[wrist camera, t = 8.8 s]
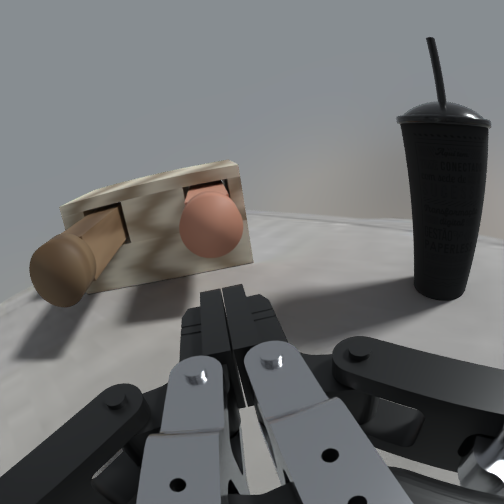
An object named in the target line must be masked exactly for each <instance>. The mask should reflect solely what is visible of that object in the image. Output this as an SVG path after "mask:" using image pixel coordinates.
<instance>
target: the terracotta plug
mask: <svg viewBox="0 0 504 504" xmlns="http://www.w3.org/2000/svg"><path fill="white" fill-rule="evenodd" d="M184 203H185V207H184V209H183V212H182V215H181V219H180V223H179V232H180V236H181V239H182V241H183V243H184V245H185V246H186V247H187V248H188V249H189V250H190V251H191V252H192V253H194V254H196V255H198V256H200V257H204V258H217V257H221V256H224V255H226V254H228V253H229V252H231V251H232V250H233V249H234V248H235V247H236V246H237V245H238V243H239V241H240V239H241V237H242V234H243V220H242V217H241V214H240V212H239V210H238V209H237V207H236V205H235V203H234V202H233V201H232V200H231V199H230V198H229V195H228V192H227V191H226V189H225V187H224V185H223V183H222V181H221V180H217V181H212V182H206V183H201V184H196V185H191V186H190V187H189V190H188V193H187V196H186V199H185V202H184Z"/></svg>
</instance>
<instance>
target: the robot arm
mask: <svg viewBox="0 0 504 504" xmlns="http://www.w3.org/2000/svg"><path fill="white" fill-rule="evenodd" d="M222 291H223V297H224V302H223V298H222V294H221V289H215V290H210V291H205V292H200V307H195V308H190V309H188V310H187V311H186V313H185V314H184V316H183V317H182V325H181V328H182V329H181V341H180V362H179V363H178V364H177V365H176V366H175V367H174V368H173V369H172V371H171V372H170V375H169V381H168V383H167V384H165V385H163V386H161V387H159V388H157V389H154V390H151V391H149V392H146V393H143V394H142V393H141V391H140V389H139V388H137V387H136V386H134V385H131V384H117V385H114V386H111V387H109V388H107V389H105V390H104V391H103V392H101V393H100V394H99V395H98V396H97V397H96V398H94V399H93V400H92V401H91V402H90V403H89V404H87V405H86V406H85V407H84V408H83V409H81V410H80V411H79V412H78V413H77V414H76V415H74V416H73V417H72V418H71V419H70V420H68V421H67V422H66V423H65V424H64V425H62V426H61V427H60V428H59V429H58V430H57V431H55V432H54V433H53V434H52V435H51V436H49V437H48V438H47V439H46V440H45V441H43V442H42V443H41V444H40V445H39V446H37V447H36V448H35V449H34V450H33V451H31V452H30V453H29V454H28V455H27V456H25V457H24V458H23V459H22V460H21V461H19V462H18V463H17V464H16V465H15V466H13V467H12V468H11V469H10V470H9V471H7V472H6V473H5V474H4V475H2V476H1V477H0V504H504V370H502V369H497V368H492V367H488V366H483V365H478V364H474V363H469V362H465V361H461V360H456V359H452V358H448V357H444V356H439V355H435V354H431V353H427V352H423V351H419V350H415V349H412V348H408V347H404V346H400V345H396V344H393V343H389V342H385V341H381V340H378V339H374V338H371V337H365V336H356V337H351V338H347V339H345V340H343V341H341V342H340V343H338V344H337V345H336V346H335V348H334V350H333V353H332V354H329V355H308V354H303V353H300V352H299V351H298V350H297V349H296V347H294V346H293V345H292V344H290V343H288V341H287V339H286V337H285V334H284V332H283V330H282V328H281V326H280V323H279V321H278V319H277V317H276V315H275V313H274V310H273V308H272V306H271V304H270V302H269V300H268V299H267V298H265V297H263V296H262V295H260V294H258V295H253V296H249V297H246V295H245V292H244V288H243V285H242V284H239V285H234V286H230V287H225V288H222ZM224 303H225V307H224ZM225 308H226V311H225ZM226 314H227V315H226ZM227 319H228V320H227ZM238 371H239V372H238ZM239 374H240V377H239ZM240 378H241V382H242V386H243V390H244V394H245V397H246V401H247V405H248V407H249V406H255V410H256V414H257V418H258V422H259V426H260V429H261V432H262V434H263V437H264V440H265V442H266V445H267V448H268V451H269V453H270V456H271V458H272V461H273V464H274V466H275V469H276V471H277V474H278V477H279V480H280V483H281V486H280V487H278V488H276V489H274V490H272V491H269V492H267V493H265V494H261V495H250V491H249V488H248V483H247V477H246V468H245V458H244V448H243V438H242V429H241V426H240V423H241V419H240V413H239V409H240V408H245V407H246V406H245V401H244V396H243V392H242V387H241V382H240ZM380 398H382V399H380ZM384 399H385V400H384ZM387 400H388V401H387ZM390 401H391V402H390ZM393 402H395V403H393ZM396 403H398V404H396ZM399 404H401V405H399ZM402 405H404V406H402ZM406 406H407V407H406ZM409 407H411V408H409ZM412 408H414V409H412ZM416 409H417V410H416ZM374 447H375V448H378V449H381V450H383V451H386V452H389V453H392V454H395V455H398V456H401V457H404V458H407V459H410V460H413V461H417V462H420V463H423V464H427V465H430V466H434V467H438V468H441V469H445V470H449V471H453V472H457V473H458V478H459V480H460V486H457V485H454V484H450V483H447V482H443V481H440V480H437V479H433V478H430V477H427V476H424V475H421V474H418V473H415V472H412V471H409V470H406V469H402V468H397V467H389V466H387V465H386V464H385V462H384V461H383V459H382V458H381V456H380V455H379V453H378V452H377V451H376V449H375V448H374ZM121 448H122V449H123V450H124V451H123V452H122V453H121V454H120V455H119V456H118V457H117V458H116V459H115V460H114V461H113V462H112V463H111V464H110V465H109V466H108V467H107V468H106V469H105V470H104V471H103V472H102V473H101V474H100V475H98V476H97V477H96V478H94V479H92V476H93V475H94V474H95V473H96V472H97V471H98V470H99V469H100V468H101V467H102V466H103V465H104V464H105V463H106V462H107V461H108V460H109V459H111V458H112V457H113V456H114V455H115V454H116V453H117V452H118V451H119V450H120V449H121Z"/></svg>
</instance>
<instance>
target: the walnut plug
mask: <svg viewBox="0 0 504 504" xmlns="http://www.w3.org/2000/svg"><path fill="white" fill-rule="evenodd" d="M128 236H129V233H128V229H127V225H126V221H125V217H124V213H123V209H122V205H121V202H118V203H114V204H110V205H106V206H102V207H99V208H98V209H96V210H95V211H93V212H92V213H90V214H89V215H87V216H86V217H84V218H83V219H81V220H80V221H78V222H77V223H75V224H74V225H73V226H71V227H70V228H68V229H67V230H66V231H64V232H63V233H61V234H59V235H56V236H55V237H53V238H52V239H50V240H49V241H48V242H46V243H45V244H44V245H42V246H41V247H40V248H38V249H37V250H36V251H35V253H34V254H33V256H32V258H31V261H30V267H29V268H30V277H31V280H32V283H33V285H34V287H35V289H36V291H37V292H38V293H39V295H40V296H41V297H42V298H43V299H44V300H46V301H47V302H49V303H50V304H52V305H55V306H58V307H70V306H73V305H75V304H76V303H78V302H79V301H80V299H81V298H82V297H83V295H84V294H85V292H86V291H87V289H88V288H89V286H90V285H91V283H92V282H93V281H96V280H97V278H98V277H99V275H100V274H101V273H102V271H103V270H104V268H105V267H106V266H107V264H108V263H109V261H110V260H111V259H112V257H113V256H114V255H115V253H116V252H117V251H118V249H119V248H120V246H121V245H122V244H123V243H124V241H125V240H126V239H127V237H128Z"/></svg>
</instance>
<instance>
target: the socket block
mask: <svg viewBox="0 0 504 504" xmlns="http://www.w3.org/2000/svg"><path fill="white" fill-rule="evenodd" d="M217 180H222V181H223V185H224V187H225V189H226V191H227V192H228V195H229V198H230V199H231V200H232V201H233V202H234V203H235V205H236V207H237V209H238V210H239V212H240V214H241V217H242V220H243V234H242V237H241V239H240V241H239V243H238V245H237V246H236V247H235V248H234V249H233V250H232V251H231V252H229V253H228V254H226V255H224V256H221V257H217V258H204V257H200V256H198V255H196V254H194V253H192V252H191V251H190V250H189V249H188V248H187V247H186V246H185V245H184V243H183V241H182V239H181V236H180V232H179V223H180V219H181V215H182V212H183V209H184V207H185V203H184V202H185V199H186V196H187V193H188V190H189V187H190V186H191V185H196V184H201V183H206V182H212V181H217ZM120 201H121V205H122V209H123V213H124V217H125V221H126V225H127V229H128V233H129V236H128V237H127V239H126V240H125V241H124V243H123V244H122V245H121V246H120V248H119V249H118V251H117V252H116V253H115V255H114V256H113V257H112V259H111V260H110V261H109V263H108V264H107V266H106V267H105V268H104V270H103V271H102V273H101V274H100V275H99V277H98V278H97V280H96V281H93V282H92V283H91V285H90V286H89V288H88V289H87V291H86V292H87V294H92V293H97V292H102V291H108V290H113V289H119V288H124V287H129V286H135V285H140V284H145V283H150V282H156V281H161V280H166V279H171V278H177V277H182V276H187V275H192V274H197V273H202V272H208V271H213V270H218V269H223V268H228V267H233V266H238V265H243V264H248V263H253V256H252V250H251V243H250V237H249V231H248V224H247V218H246V212H245V205H244V199H243V193H242V186H241V180H240V173H239V167H238V164H236V163H234V162H232V161H230V160H223V161H218V162H213V163H207V164H202V165H197V166H192V167H187V168H181V169H177V170H172V171H167V172H163V173H158V174H155V175H150V176H146V177H142V178H137V179H133V180H130V181H125V182H122V183H118V184H114V185H110V186H107V187H103V188H100V189H96V190H94V191H91V192H89V193H87V194H85V195H83V196H81V197H79V198H76V199H74V200H72V201H70V202H68V203H66V204H64V205H62V206H60V207H59V208H60V211H61V215H62V219H63V223H64V226H65V230H67V229H68V228H70V227H71V226H73V225H74V224H75V223H77V222H78V221H80V220H81V219H83V218H84V217H86V216H87V215H89V214H90V213H92V212H93V211H95V210H96V209H98V208H99V207H102V206H106V205H110V204H114V203H116V202H120Z"/></svg>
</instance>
